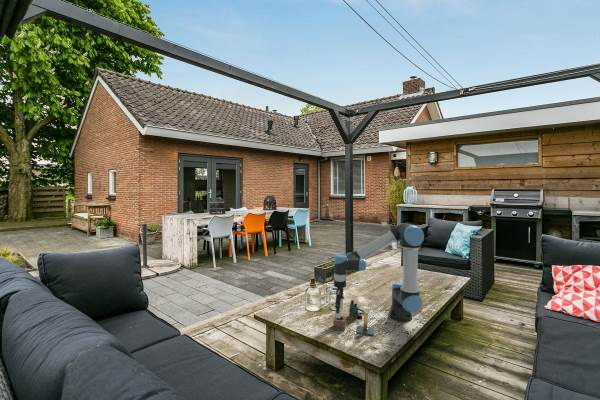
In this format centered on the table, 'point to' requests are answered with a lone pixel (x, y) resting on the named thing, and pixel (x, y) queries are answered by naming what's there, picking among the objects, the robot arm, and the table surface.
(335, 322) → the link
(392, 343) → the table surface
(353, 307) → the binoculars
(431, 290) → the table surface
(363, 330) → the keeper
